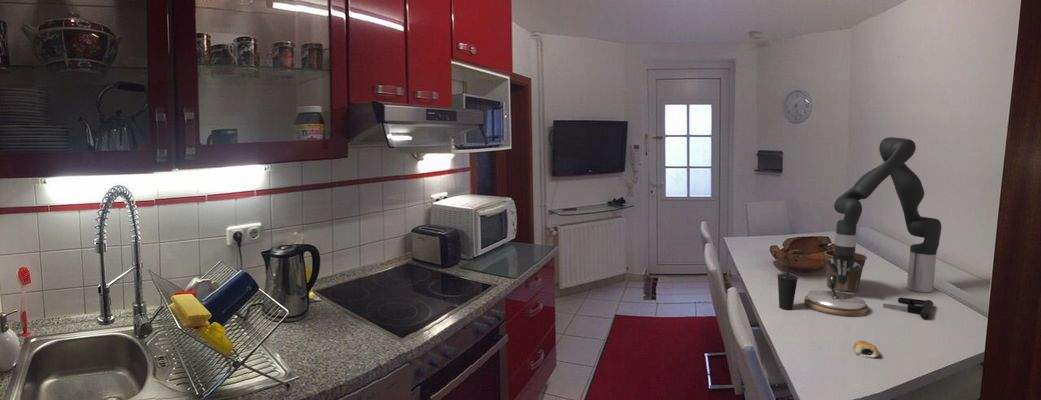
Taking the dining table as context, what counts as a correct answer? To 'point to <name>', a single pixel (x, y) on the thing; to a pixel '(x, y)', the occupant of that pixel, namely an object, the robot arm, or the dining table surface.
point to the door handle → (913, 307)
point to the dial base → (836, 310)
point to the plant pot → (852, 279)
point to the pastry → (865, 349)
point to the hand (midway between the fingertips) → (842, 283)
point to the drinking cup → (786, 289)
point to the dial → (835, 298)
